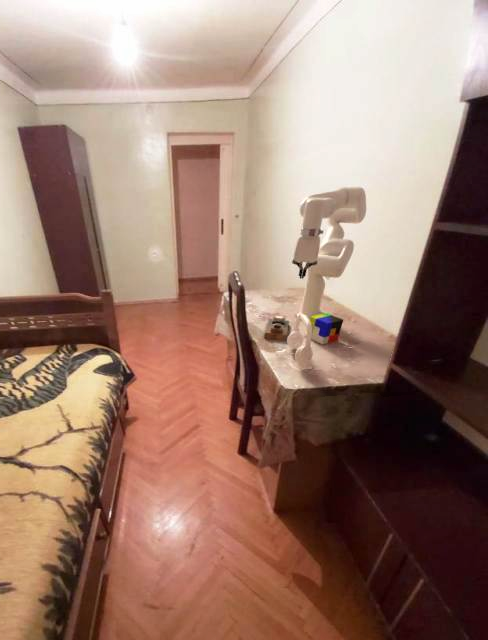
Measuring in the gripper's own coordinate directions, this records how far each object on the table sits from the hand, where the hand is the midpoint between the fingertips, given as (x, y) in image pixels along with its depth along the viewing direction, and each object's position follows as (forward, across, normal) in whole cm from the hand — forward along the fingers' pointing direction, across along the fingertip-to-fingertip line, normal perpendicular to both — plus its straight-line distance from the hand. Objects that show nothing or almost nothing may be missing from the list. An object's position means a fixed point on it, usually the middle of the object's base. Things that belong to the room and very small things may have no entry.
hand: (301, 277), depth 145 cm
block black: (+25, +7, -2) cm, 26 cm away
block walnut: (+25, +7, +10) cm, 28 cm away
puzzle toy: (+25, -14, +7) cm, 30 cm away
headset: (+25, -4, +32) cm, 41 cm away
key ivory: (+22, +7, -2) cm, 23 cm away
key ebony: (+21, +7, +10) cm, 24 cm away
